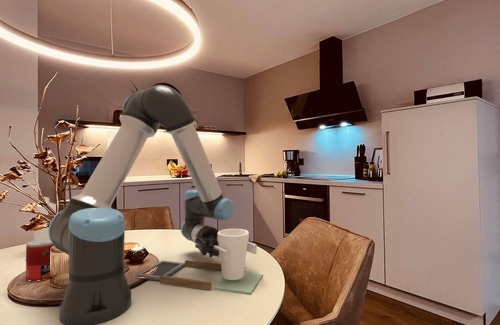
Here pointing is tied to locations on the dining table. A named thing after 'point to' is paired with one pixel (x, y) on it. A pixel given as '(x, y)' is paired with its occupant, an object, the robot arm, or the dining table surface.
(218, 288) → the pad
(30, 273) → the canned food
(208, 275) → the dining table surface
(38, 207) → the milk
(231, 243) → the foam cup
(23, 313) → the dining table surface
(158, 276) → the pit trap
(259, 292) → the dining table surface
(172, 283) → the channel rails
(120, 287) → the robot arm
